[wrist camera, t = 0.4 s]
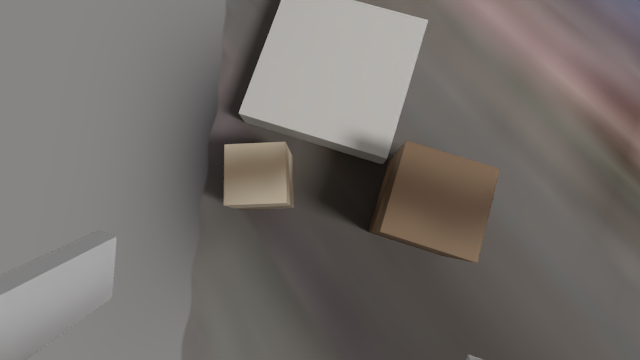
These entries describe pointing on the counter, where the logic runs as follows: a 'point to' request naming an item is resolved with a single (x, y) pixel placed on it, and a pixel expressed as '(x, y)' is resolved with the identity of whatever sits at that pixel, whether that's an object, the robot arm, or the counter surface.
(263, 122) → the tile
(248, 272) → the counter surface
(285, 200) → the maple block
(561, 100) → the counter surface
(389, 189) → the walnut cube
